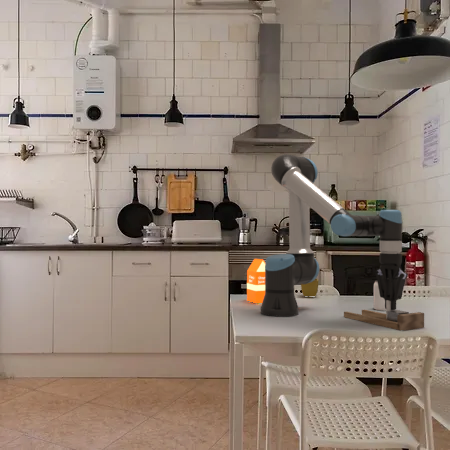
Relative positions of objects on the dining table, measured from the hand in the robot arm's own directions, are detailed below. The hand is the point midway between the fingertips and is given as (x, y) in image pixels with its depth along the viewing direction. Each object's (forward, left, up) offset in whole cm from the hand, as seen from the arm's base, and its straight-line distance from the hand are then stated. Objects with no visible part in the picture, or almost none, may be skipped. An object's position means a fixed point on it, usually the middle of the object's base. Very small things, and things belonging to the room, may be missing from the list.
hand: (390, 318), depth 162 cm
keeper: (0, -3, -2) cm, 4 cm away
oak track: (0, +4, -2) cm, 5 cm away
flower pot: (+17, +64, -2) cm, 67 cm away
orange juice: (-15, +62, -2) cm, 64 cm away
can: (+21, +22, -2) cm, 31 cm away
